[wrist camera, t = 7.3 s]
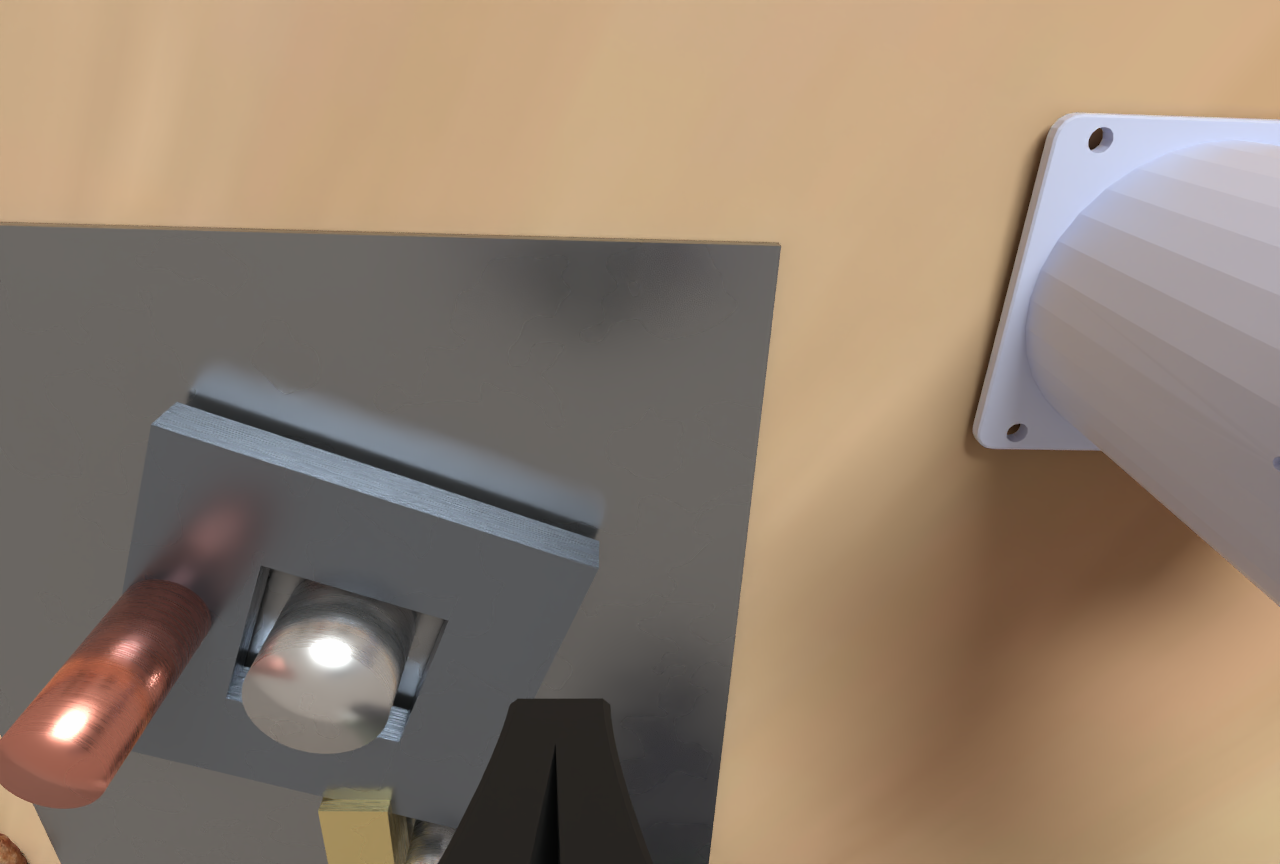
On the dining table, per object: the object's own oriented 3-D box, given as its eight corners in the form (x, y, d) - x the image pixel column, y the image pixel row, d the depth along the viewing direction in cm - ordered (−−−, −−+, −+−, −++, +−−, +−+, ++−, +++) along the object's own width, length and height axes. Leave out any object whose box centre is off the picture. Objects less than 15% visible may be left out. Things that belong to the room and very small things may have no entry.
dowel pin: (462, 806, 26) (446, 888, 24) (465, 837, 27) (451, 921, 24) (413, 806, 26) (392, 889, 24) (417, 838, 27) (398, 921, 24)
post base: (778, 242, 18) (811, 285, 15) (707, 857, 28) (718, 954, 25) (-229, 216, 17) (-402, 256, 14) (70, 864, 27) (6, 965, 24)
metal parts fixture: (176, 401, 19) (7, 552, 14) (599, 540, 21) (596, 716, 16) (102, 806, 25) (-34, 1018, 20) (433, 880, 27) (391, 1087, 22)
